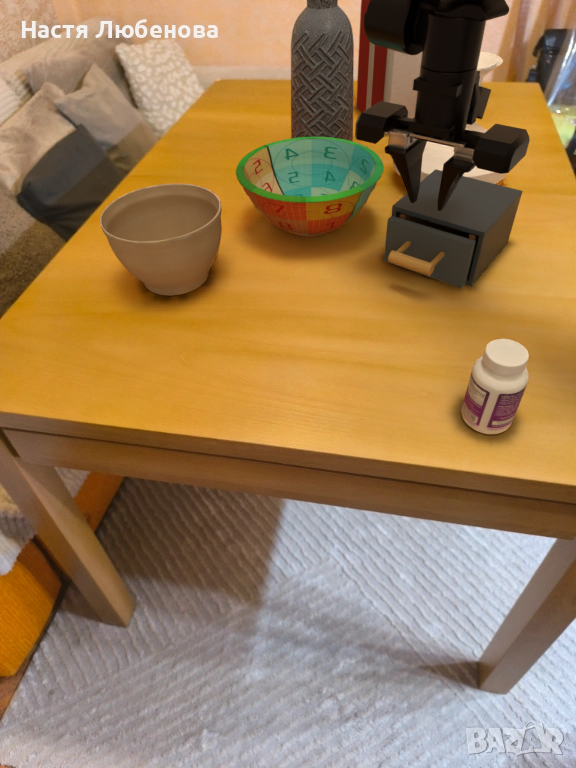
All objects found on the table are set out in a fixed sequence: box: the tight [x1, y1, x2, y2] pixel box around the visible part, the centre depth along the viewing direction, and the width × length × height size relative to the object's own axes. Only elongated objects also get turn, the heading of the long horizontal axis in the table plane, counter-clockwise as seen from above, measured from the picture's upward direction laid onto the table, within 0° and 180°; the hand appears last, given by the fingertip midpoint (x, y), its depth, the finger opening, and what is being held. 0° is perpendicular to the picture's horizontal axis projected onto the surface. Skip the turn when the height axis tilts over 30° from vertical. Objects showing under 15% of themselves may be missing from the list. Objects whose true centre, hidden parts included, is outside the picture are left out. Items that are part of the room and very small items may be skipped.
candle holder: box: [392, 51, 508, 184], centre depth 89 cm, size 20×20×19 cm
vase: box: [290, 0, 355, 142], centre depth 96 cm, size 12×12×28 cm
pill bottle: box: [460, 338, 530, 435], centre depth 54 cm, size 5×5×10 cm
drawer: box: [383, 213, 479, 289], centre depth 74 cm, size 17×12×7 cm
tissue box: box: [355, 0, 422, 135], centre depth 109 cm, size 17×18×27 cm
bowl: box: [235, 137, 385, 237], centre depth 84 cm, size 22×22×10 cm
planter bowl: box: [99, 183, 223, 296], centre depth 75 cm, size 16×16×11 cm
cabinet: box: [390, 169, 524, 288], centre depth 77 cm, size 13×13×8 cm
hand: (427, 205), depth 66 cm, fingers open, 3 cm apart
